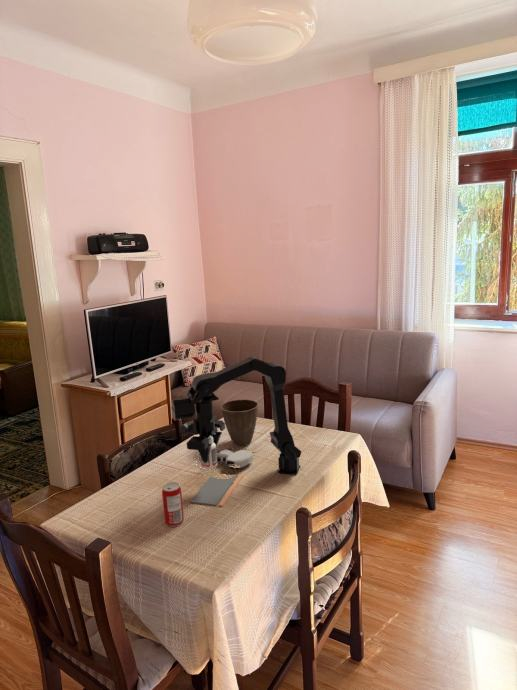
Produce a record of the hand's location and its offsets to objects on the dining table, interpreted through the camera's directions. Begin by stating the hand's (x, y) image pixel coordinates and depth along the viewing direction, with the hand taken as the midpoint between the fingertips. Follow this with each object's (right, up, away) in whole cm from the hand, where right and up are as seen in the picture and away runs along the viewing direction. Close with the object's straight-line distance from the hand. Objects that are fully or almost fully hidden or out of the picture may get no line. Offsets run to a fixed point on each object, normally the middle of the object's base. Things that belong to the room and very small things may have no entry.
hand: (208, 458), depth 163 cm
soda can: (-9, -15, -16) cm, 24 cm away
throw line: (+8, -11, 0) cm, 13 cm away
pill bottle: (0, -3, +1) cm, 3 cm away
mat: (+2, -11, +2) cm, 11 cm away
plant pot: (+10, -2, +38) cm, 40 cm away
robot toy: (+7, -7, +20) cm, 22 cm away
